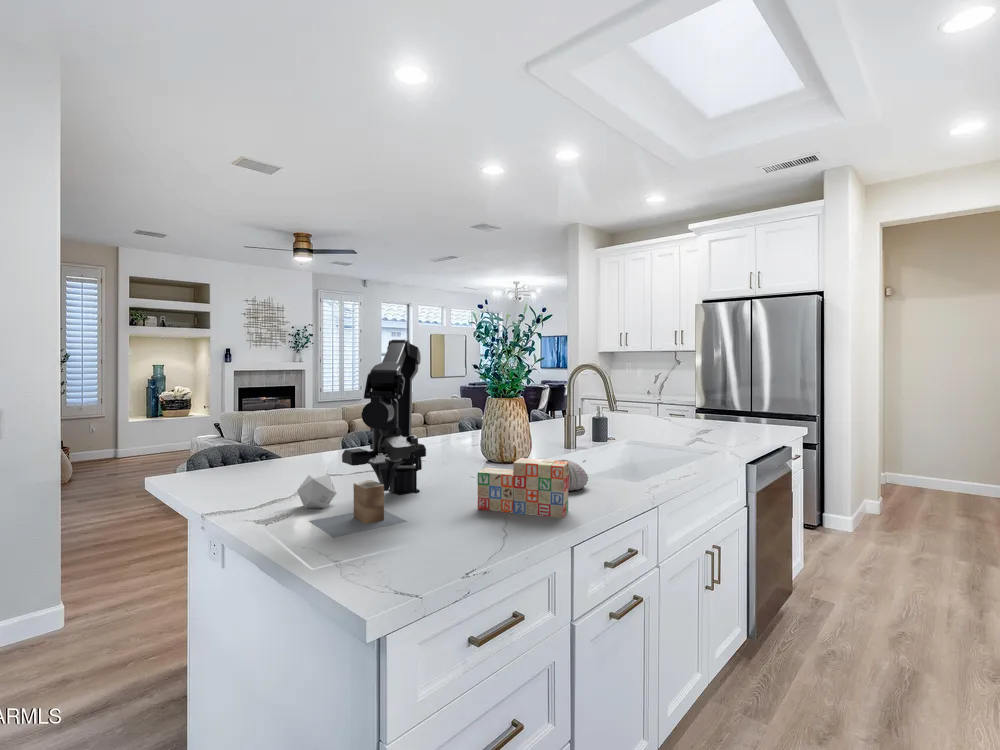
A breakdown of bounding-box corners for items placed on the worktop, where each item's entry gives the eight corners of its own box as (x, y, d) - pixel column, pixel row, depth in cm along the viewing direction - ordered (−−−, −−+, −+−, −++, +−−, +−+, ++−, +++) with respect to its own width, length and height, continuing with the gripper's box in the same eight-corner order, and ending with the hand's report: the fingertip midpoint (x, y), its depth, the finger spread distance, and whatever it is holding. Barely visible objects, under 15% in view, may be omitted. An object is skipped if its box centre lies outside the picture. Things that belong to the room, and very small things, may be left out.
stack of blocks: (476, 510, 129) (476, 459, 128) (485, 503, 135) (485, 455, 134) (563, 518, 122) (564, 465, 122) (569, 511, 128) (569, 460, 128)
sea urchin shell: (534, 491, 147) (534, 462, 147) (547, 481, 160) (547, 454, 160) (582, 495, 143) (582, 466, 142) (591, 484, 155) (591, 457, 155)
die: (313, 517, 124) (338, 481, 127) (284, 497, 126) (310, 462, 129) (324, 519, 132) (347, 486, 135) (296, 501, 134) (320, 468, 136)
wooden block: (372, 514, 123) (371, 480, 123) (384, 520, 119) (383, 484, 119) (353, 517, 121) (353, 482, 120) (365, 524, 116) (365, 487, 116)
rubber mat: (378, 508, 129) (378, 507, 129) (407, 522, 118) (407, 521, 118) (308, 522, 118) (308, 520, 118) (333, 538, 107) (333, 537, 107)
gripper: (363, 429, 110) (363, 504, 110) (439, 423, 122) (439, 491, 122) (340, 424, 118) (341, 494, 119) (414, 419, 130) (414, 482, 130)
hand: (385, 490), depth 122 cm, fingers closed
